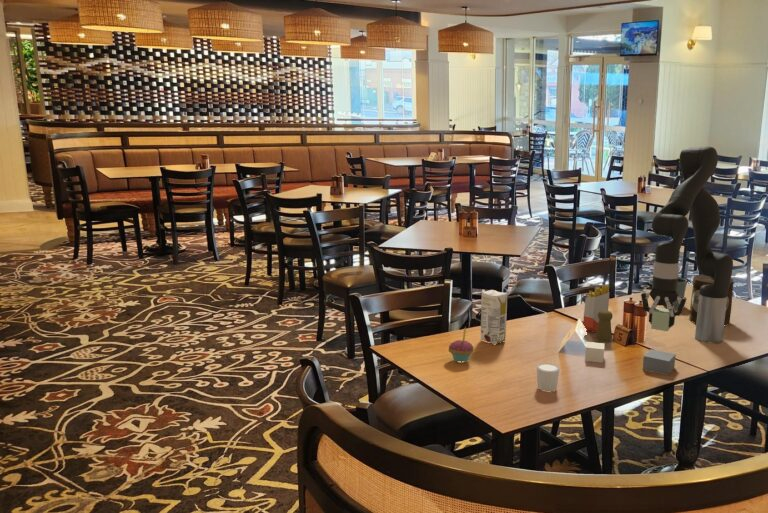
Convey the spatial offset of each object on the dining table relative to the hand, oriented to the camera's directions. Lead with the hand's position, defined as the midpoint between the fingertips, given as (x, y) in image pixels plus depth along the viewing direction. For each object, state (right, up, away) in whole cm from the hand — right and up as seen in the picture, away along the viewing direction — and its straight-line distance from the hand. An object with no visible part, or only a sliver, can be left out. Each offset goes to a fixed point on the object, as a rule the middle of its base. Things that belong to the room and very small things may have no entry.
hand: (661, 325), depth 211 cm
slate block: (0, -15, +3) cm, 15 cm away
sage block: (0, -1, 0) cm, 1 cm away
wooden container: (+42, -4, +51) cm, 66 cm away
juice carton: (-50, -10, +30) cm, 59 cm away
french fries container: (-8, -7, +42) cm, 43 cm away
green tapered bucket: (+37, +1, +73) cm, 82 cm away
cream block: (-18, -13, +12) cm, 25 cm away
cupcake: (-65, -14, +11) cm, 67 cm away
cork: (-8, -9, +31) cm, 33 cm away
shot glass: (-41, -19, -12) cm, 46 cm away
